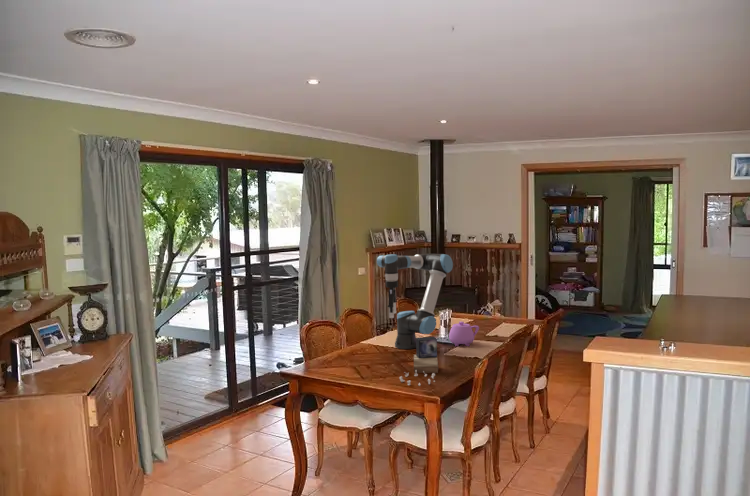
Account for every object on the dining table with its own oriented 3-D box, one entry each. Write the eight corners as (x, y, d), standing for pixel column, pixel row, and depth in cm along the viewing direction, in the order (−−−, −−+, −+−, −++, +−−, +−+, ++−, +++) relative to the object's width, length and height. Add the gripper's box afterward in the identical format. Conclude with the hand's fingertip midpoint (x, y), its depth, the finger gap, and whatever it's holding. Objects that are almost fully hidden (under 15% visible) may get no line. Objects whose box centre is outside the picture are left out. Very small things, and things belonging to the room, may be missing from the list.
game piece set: (433, 375, 315) (433, 368, 315) (438, 386, 295) (438, 378, 295) (397, 376, 314) (397, 369, 314) (400, 387, 294) (400, 380, 294)
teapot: (477, 340, 392) (477, 318, 391) (480, 347, 372) (480, 324, 371) (448, 340, 394) (448, 318, 393) (449, 347, 374) (449, 324, 373)
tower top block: (414, 361, 328) (414, 354, 328) (437, 361, 327) (437, 354, 327) (413, 366, 318) (413, 359, 318) (437, 366, 317) (437, 359, 317)
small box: (419, 358, 319) (418, 340, 318) (416, 355, 325) (415, 337, 324) (437, 357, 321) (437, 338, 320) (434, 354, 327) (433, 336, 326)
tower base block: (415, 368, 329) (415, 361, 329) (438, 368, 327) (438, 361, 327) (414, 373, 319) (413, 366, 319) (437, 373, 317) (437, 366, 317)
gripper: (387, 277, 358) (388, 311, 360) (383, 283, 333) (384, 319, 335) (399, 277, 357) (400, 311, 359) (396, 283, 332) (397, 319, 334)
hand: (392, 315), depth 347 cm, fingers open, 13 cm apart
